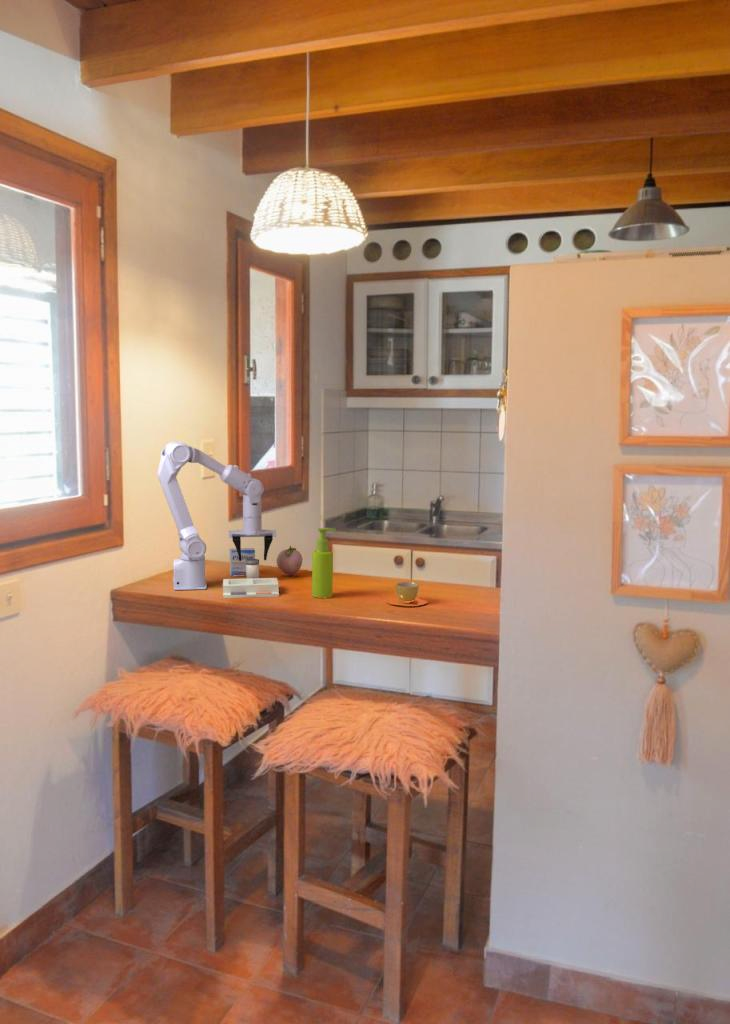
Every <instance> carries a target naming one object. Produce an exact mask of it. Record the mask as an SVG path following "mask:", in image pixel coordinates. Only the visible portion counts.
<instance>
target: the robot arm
mask: <svg viewBox="0 0 730 1024" xmlns="http://www.w3.org/2000/svg"><path fill="white" fill-rule="evenodd" d="M187 463H191V464H199V465H201V466H203V467H205V468H206V469H209V470H210V471H212V472H214V473H216V474H218V475H219V476H220V480H221V482H223V483H225V484H226V485H228V486H229V487H232V488H233V489H235V490H237V491H239V492H241V494H242V529H237V530H228V538H229V539H232V540H231V541H232V542H233V544H234V547H235V549H237V552H238V556H239V561H241V548H242V547H241V545H242V543H241V542H242V541H241V538H256V537H257V538H262V537H263V541H264V543H263V544H264V545H263V546H264V548H263V549H264V550H263V560H264V561H267V559H268V558H267V557H268V553H269V550H270V546H271V545H272V542H273V538H276V537H277V530H276V529H263V528H262V526H263V525H262V521H263V520H262V519H263V518H262V515H263V514H262V512H263V511H262V495H263V493H264V492H265V487H264V485H263V483H262V482H261V480H259V479H257V478H253V477H252V474H251V473H249V472H248V473H246V472H245V471H242V470H241V469H239V468H240V466H238V465H236V464H234V465H233V464H228V465H224V464H222V463H221V462H220V461H218V460H216V459H214V458H213V457H211V456H209V454H207V453H205V452H203V451H202V450H200V449H198V448H196V447H193V446H191V445H190V446H189V445H188V444H186V443H184V442H178V441H176V440H175V441H170V442H168V443H167V444H166V445H165V446H164V448H163V449H162V451H161V452H160V459H159V465H158V470H157V478H158V482H159V483H160V486H161V488H162V491H163V494H164V497H165V499H166V502H167V504H168V508H169V510H170V513H171V517H172V518H173V520H174V524H175V526H176V528H177V535H178V538H179V542H178V547H179V550H180V551H181V552H182V553H181V555H180V558H173V577H172V583H173V590H174V591H184V590H185V591H187V590H188V591H190V590H207V585H208V582H207V581H206V556H205V554H206V552H207V544H206V543H205V541H204V540H203V539H201V537H200V535H199V533H198V531H197V529H196V527H195V525H194V523H193V520H192V516H191V515H190V512H189V509H188V507H187V506H188V505H187V503H186V500H185V499H184V496H183V492H182V490H181V488H180V484H179V482H178V479H177V476H178V475H179V472H180V471H181V469H182V468H183V467H184V466H185V465H186V464H187Z"/></svg>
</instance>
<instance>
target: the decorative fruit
mask: <svg viewBox="0 0 730 1024" xmlns="http://www.w3.org/2000/svg"><path fill="white" fill-rule="evenodd" d="M276 564H277V565H276V566H277V568H278V569H279V570H280V571H281V572H282V573H284V574H286V575H287V576H289V577H292V576H294V575H295V574H297V573H298V572H299V571H300V569H301V568H302V564H303V556H302V554H301V552H300V551H299V550H297V548H295V547H292V545H290V546H289V548H287V549H283V550H281V551H280V552H279V554H278V555H277V558H276Z"/></svg>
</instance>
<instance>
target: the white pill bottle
mask: <svg viewBox="0 0 730 1024" xmlns="http://www.w3.org/2000/svg"><path fill="white" fill-rule="evenodd" d="M251 578H260V559H259V558H255V559H247V560H246V576H245V579H251Z"/></svg>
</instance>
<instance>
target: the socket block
mask: <svg viewBox="0 0 730 1024" xmlns="http://www.w3.org/2000/svg"><path fill="white" fill-rule="evenodd" d="M279 588H280V587H279V582H278V578H277V577H259V578H251V579H246V578H223V580H222V599H239V598H241V599H242V598H270V597H271V598H272V597H273V598H274V597H277V598H278V597H280V593H279V591H280V590H279Z"/></svg>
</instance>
